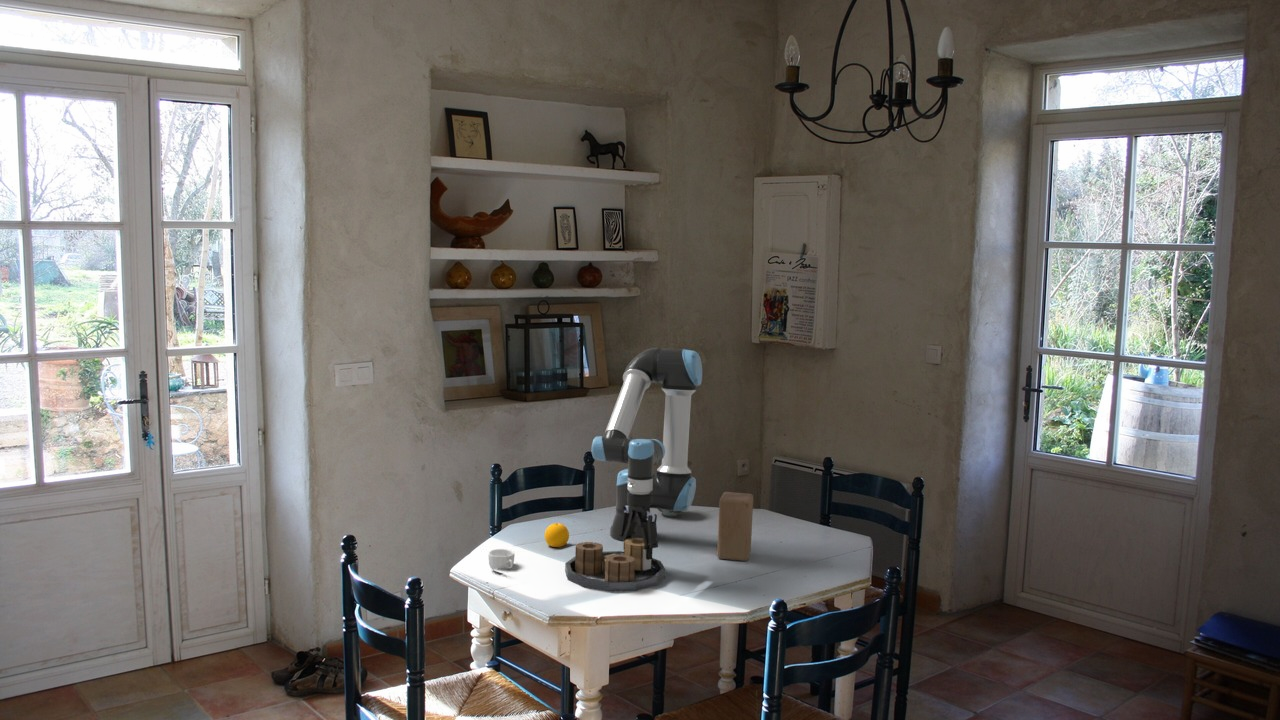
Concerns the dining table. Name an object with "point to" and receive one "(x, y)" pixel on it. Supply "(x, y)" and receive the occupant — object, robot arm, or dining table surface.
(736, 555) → the wooden block
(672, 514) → the bowl
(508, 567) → the teacup
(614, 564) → the seated gear
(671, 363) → the robot arm
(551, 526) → the orange
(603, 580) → the carrier
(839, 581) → the dining table surface
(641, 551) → the planet gear
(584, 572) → the seated gear
